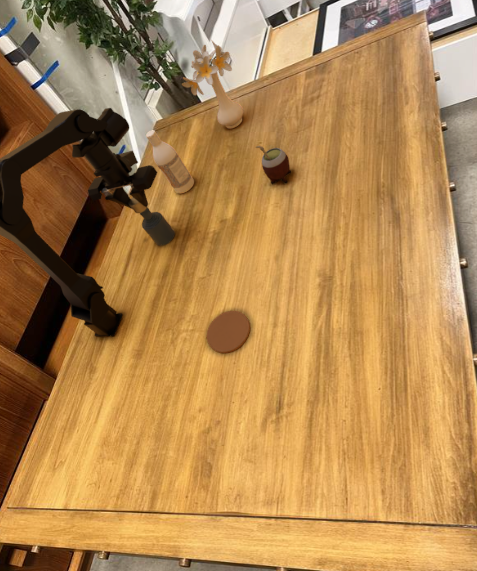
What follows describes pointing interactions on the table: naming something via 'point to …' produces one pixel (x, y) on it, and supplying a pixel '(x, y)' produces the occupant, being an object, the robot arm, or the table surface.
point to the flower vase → (215, 83)
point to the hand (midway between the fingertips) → (141, 206)
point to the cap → (136, 205)
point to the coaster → (228, 331)
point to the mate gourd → (275, 164)
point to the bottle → (157, 227)
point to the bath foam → (170, 164)
